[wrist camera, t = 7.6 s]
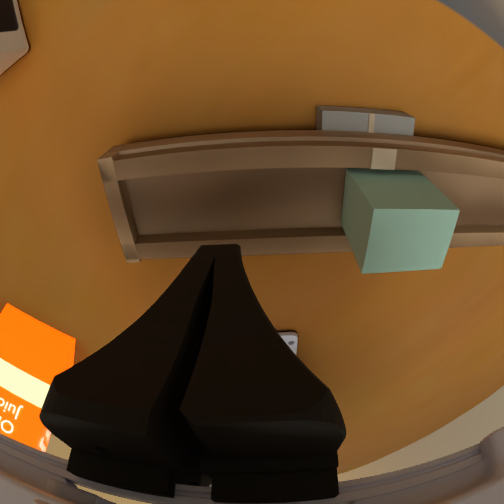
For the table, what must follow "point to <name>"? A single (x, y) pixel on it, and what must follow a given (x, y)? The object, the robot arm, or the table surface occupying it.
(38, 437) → the orange juice
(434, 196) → the block
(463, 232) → the beam
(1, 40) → the container
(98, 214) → the table surface
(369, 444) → the table surface
